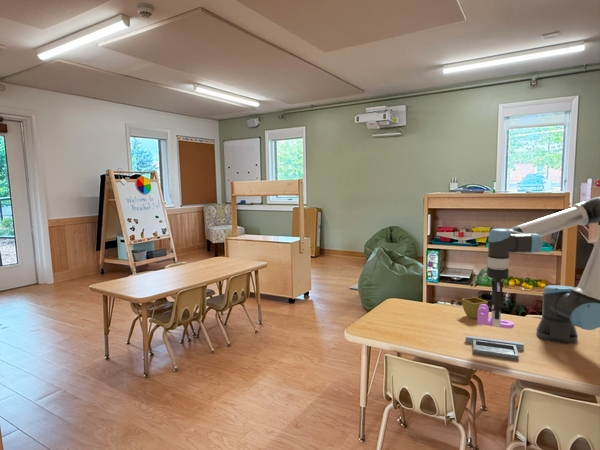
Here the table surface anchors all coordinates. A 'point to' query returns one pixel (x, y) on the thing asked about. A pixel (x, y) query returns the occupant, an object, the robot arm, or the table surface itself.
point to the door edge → (518, 345)
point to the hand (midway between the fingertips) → (495, 323)
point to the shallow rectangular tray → (495, 350)
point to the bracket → (485, 320)
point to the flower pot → (472, 306)
